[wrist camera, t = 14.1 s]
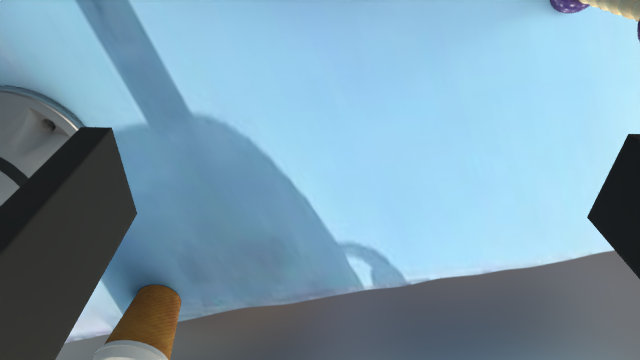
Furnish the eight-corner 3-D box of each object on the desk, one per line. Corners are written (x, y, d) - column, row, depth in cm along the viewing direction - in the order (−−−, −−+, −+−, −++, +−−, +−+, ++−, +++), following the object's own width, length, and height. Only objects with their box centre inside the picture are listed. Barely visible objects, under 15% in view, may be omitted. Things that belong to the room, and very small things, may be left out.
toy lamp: (540, -26, 36) (672, 22, 22) (595, -60, 35) (774, -32, 21) (556, 21, 38) (687, 91, 25) (609, -10, 37) (780, 46, 23)
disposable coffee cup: (128, 270, 58) (87, 348, 48) (196, 285, 59) (170, 363, 49) (124, 312, 63) (87, 389, 53) (187, 324, 64) (163, 402, 54)
